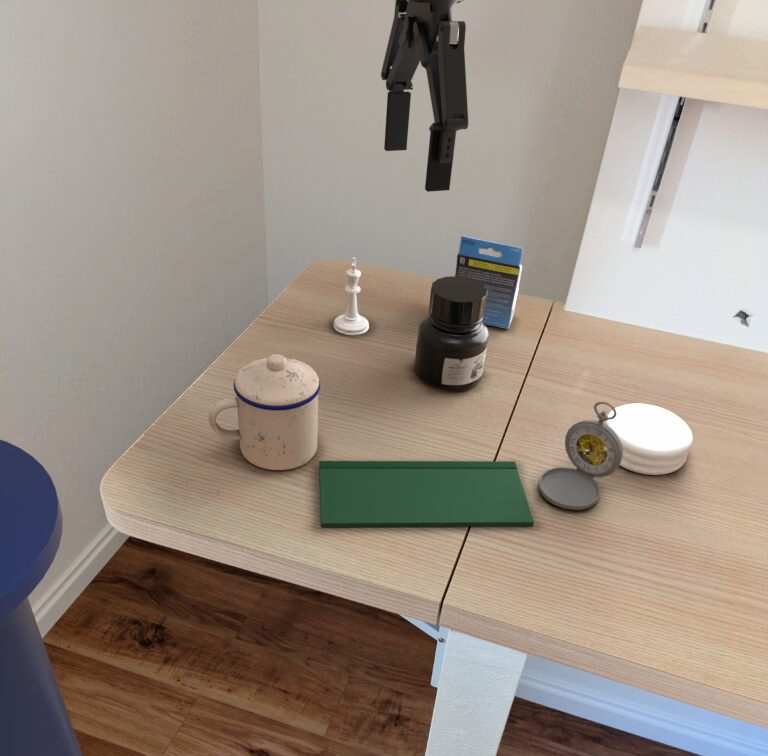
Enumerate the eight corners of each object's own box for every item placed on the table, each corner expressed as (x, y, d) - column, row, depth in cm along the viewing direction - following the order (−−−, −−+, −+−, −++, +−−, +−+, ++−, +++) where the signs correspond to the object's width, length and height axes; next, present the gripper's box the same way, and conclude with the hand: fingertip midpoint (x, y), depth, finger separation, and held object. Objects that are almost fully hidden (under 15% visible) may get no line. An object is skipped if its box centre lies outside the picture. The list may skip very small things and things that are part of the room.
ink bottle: (455, 403, 99) (468, 315, 91) (398, 376, 103) (406, 290, 95) (495, 372, 105) (511, 287, 97) (440, 348, 109) (451, 264, 101)
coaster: (583, 431, 96) (590, 407, 94) (653, 420, 99) (661, 396, 97) (628, 483, 89) (636, 458, 87) (702, 469, 92) (712, 445, 90)
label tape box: (513, 318, 116) (529, 236, 108) (508, 331, 113) (524, 248, 105) (455, 306, 118) (466, 225, 110) (448, 319, 115) (459, 236, 107)
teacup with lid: (307, 419, 94) (307, 331, 86) (329, 465, 88) (331, 375, 80) (205, 434, 91) (195, 344, 83) (221, 484, 85) (212, 391, 77)
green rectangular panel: (320, 527, 81) (320, 522, 80) (319, 465, 88) (319, 460, 88) (533, 526, 83) (534, 521, 82) (514, 466, 90) (515, 461, 90)
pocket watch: (537, 508, 85) (557, 432, 78) (537, 460, 91) (555, 386, 85) (614, 519, 84) (641, 443, 78) (609, 470, 91) (633, 396, 84)
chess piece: (332, 334, 109) (333, 265, 103) (335, 316, 113) (336, 249, 106) (368, 336, 110) (371, 267, 103) (369, 319, 113) (373, 251, 107)
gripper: (523, -24, 73) (488, 206, 87) (422, -65, 90) (407, 133, 104) (448, -26, 71) (425, 211, 85) (360, -67, 88) (352, 136, 102)
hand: (415, 169), depth 95 cm, fingers open, 13 cm apart
